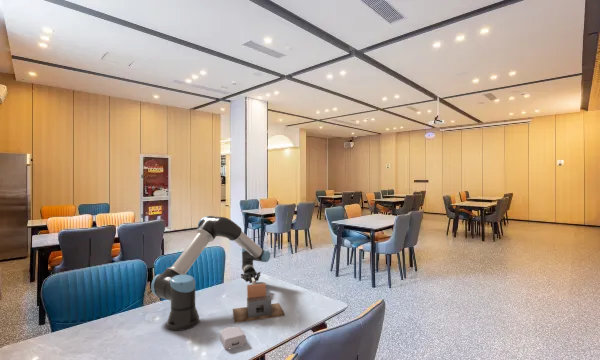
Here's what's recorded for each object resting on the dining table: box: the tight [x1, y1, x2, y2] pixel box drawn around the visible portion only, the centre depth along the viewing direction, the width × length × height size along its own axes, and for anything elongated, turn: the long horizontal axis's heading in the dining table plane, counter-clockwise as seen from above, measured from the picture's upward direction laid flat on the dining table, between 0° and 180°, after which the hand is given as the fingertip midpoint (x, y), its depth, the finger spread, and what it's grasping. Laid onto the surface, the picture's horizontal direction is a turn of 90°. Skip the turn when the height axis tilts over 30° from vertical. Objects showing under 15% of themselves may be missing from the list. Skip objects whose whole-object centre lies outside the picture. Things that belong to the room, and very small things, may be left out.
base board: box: [232, 302, 285, 324], centre depth 166 cm, size 26×14×2 cm, turn 106°
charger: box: [219, 326, 247, 350], centre depth 140 cm, size 5×9×15 cm
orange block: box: [246, 282, 267, 308], centre depth 169 cm, size 10×9×12 cm
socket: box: [246, 295, 272, 318], centre depth 163 cm, size 12×6×8 cm, turn 106°
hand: (253, 283), depth 184 cm, fingers closed
